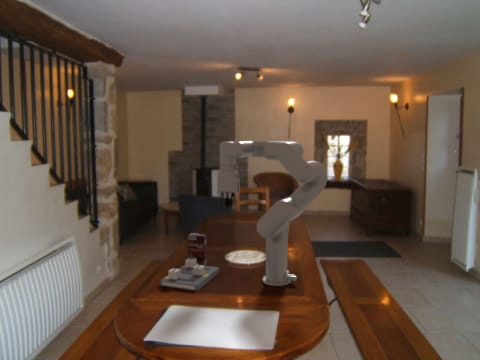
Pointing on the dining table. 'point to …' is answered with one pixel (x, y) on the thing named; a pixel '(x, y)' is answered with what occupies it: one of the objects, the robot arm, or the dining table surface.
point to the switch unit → (190, 278)
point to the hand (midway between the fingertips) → (228, 206)
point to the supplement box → (197, 248)
